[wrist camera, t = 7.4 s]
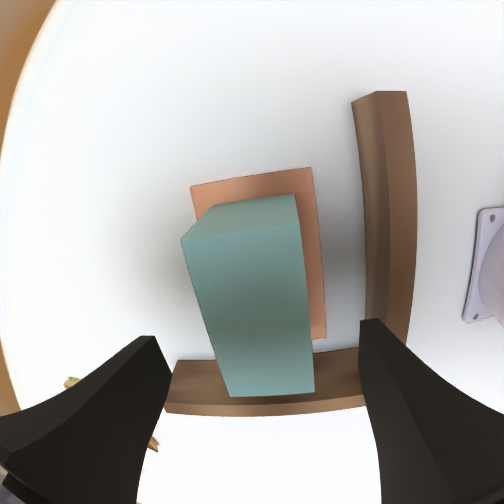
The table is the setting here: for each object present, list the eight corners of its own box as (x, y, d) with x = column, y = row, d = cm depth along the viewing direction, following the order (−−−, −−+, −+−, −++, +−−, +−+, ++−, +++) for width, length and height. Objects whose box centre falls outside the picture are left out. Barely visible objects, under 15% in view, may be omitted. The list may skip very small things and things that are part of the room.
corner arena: (374, 101, 12) (406, 91, 8) (379, 356, 17) (393, 400, 14) (110, 151, 14) (64, 160, 10) (182, 371, 20) (166, 412, 16)
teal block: (309, 328, 16) (314, 392, 12) (243, 334, 17) (229, 396, 13) (293, 192, 14) (299, 222, 9) (213, 204, 14) (180, 239, 10)
